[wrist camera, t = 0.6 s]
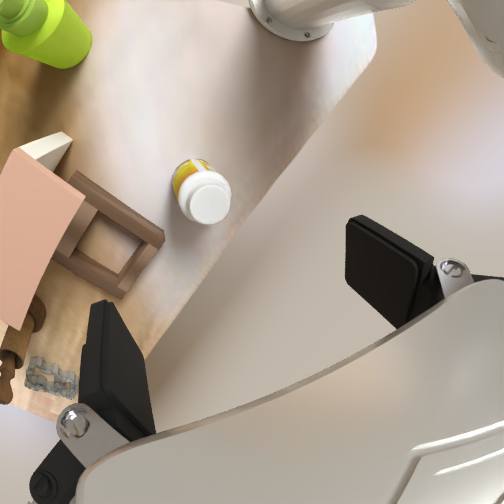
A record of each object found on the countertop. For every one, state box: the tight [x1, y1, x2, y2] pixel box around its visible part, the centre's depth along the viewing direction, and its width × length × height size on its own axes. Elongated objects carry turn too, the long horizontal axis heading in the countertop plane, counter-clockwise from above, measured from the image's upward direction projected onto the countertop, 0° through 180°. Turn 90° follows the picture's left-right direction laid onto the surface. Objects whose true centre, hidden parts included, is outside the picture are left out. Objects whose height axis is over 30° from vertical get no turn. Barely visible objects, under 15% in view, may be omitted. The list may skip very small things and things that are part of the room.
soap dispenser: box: [0, 0, 92, 69], centre depth 13 cm, size 6×7×20 cm
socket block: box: [51, 170, 165, 299], centre depth 33 cm, size 11×14×3 cm
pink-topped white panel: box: [0, 131, 86, 331], centre depth 24 cm, size 16×8×14 cm, turn 135°
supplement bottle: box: [172, 159, 232, 225], centre depth 31 cm, size 6×6×10 cm
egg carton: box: [24, 356, 79, 400], centre depth 40 cm, size 11×8×4 cm
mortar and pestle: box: [0, 295, 46, 405], centre depth 27 cm, size 7×6×18 cm
